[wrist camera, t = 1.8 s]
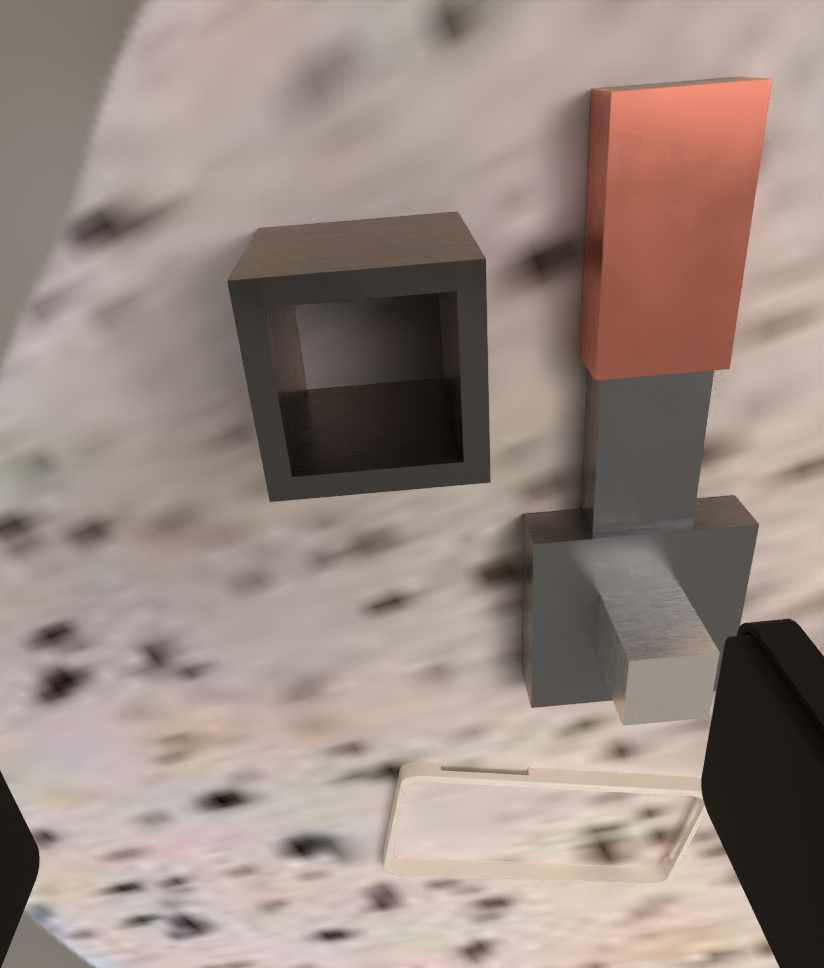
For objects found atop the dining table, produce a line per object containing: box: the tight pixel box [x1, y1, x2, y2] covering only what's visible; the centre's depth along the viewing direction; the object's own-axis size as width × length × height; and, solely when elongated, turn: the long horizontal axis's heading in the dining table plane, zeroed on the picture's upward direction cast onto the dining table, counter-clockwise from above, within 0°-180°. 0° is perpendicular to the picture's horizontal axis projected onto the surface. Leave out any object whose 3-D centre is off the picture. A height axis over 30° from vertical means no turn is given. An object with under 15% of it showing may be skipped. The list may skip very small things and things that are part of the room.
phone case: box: [383, 762, 707, 885], centre depth 37 cm, size 7×1×15 cm
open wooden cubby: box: [227, 212, 490, 502], centre depth 22 cm, size 6×6×6 cm
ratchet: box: [522, 77, 772, 725], centre depth 24 cm, size 22×8×6 cm, turn 4°
